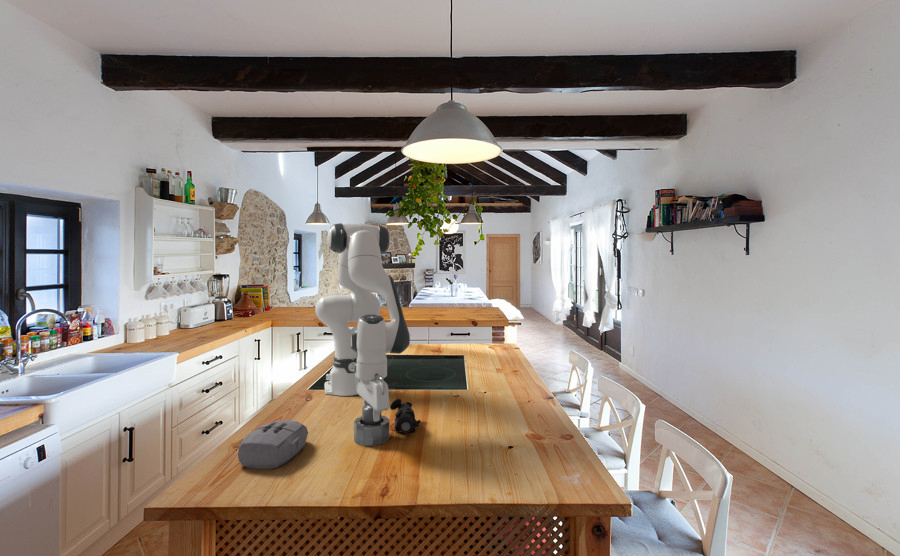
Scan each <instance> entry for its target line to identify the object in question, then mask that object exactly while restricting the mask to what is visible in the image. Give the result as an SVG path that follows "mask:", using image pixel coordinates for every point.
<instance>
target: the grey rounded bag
mask: <svg viewBox="0 0 900 556" xmlns="http://www.w3.org/2000/svg"><path fill="white" fill-rule="evenodd" d="M308 434H309V431H308V428H307V426H305V425H304V424H303V423H301V422H299V421H295V420H290V419H286V420H276V421H271V422H269V423H265V424H263V425H261V426H259V427H257V428H255V429H254V430H253V431H251V432H250V433H248V434H247V435H246V436H245V437H244V438H242V439H241V443H240V445H239V447H238V453H237V459H238V462H239V464H241V466H242V467H245V468H249V469H258V470H261V469H262V470H273V469H277V468H279V467H281V466H283V465H284V464H286V463H288V462H289V461H290V460H291V459H293V458H294V457H295V456H297V454H299V452H300V451H301V449H303V447H305V445H306V442H307V438H308Z"/></svg>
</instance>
